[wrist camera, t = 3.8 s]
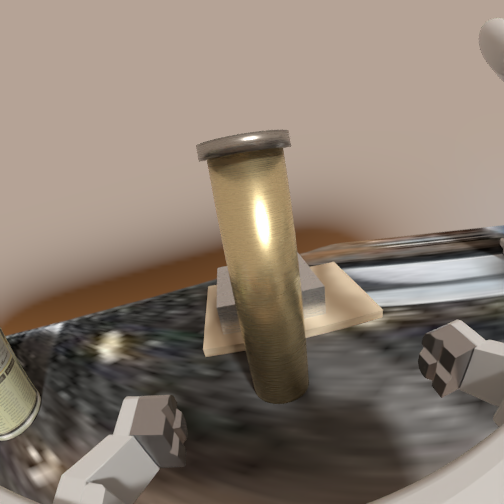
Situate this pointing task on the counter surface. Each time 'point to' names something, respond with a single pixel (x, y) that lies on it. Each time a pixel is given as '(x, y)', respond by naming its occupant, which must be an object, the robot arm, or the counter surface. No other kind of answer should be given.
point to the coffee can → (15, 394)
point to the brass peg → (261, 257)
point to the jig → (309, 287)
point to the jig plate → (337, 317)
